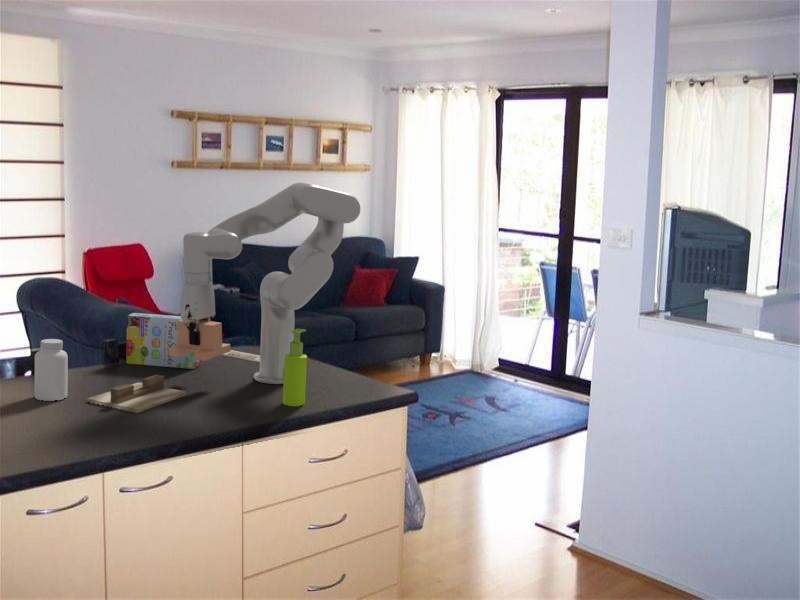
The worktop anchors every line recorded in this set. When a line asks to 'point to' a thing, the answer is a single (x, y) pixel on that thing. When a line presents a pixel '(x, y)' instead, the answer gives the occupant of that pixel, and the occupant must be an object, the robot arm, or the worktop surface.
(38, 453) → the worktop surface
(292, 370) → the soap dispenser
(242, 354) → the newspaper
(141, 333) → the snack box
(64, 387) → the pill bottle
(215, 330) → the cross plate
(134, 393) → the base
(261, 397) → the worktop surface
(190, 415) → the worktop surface
